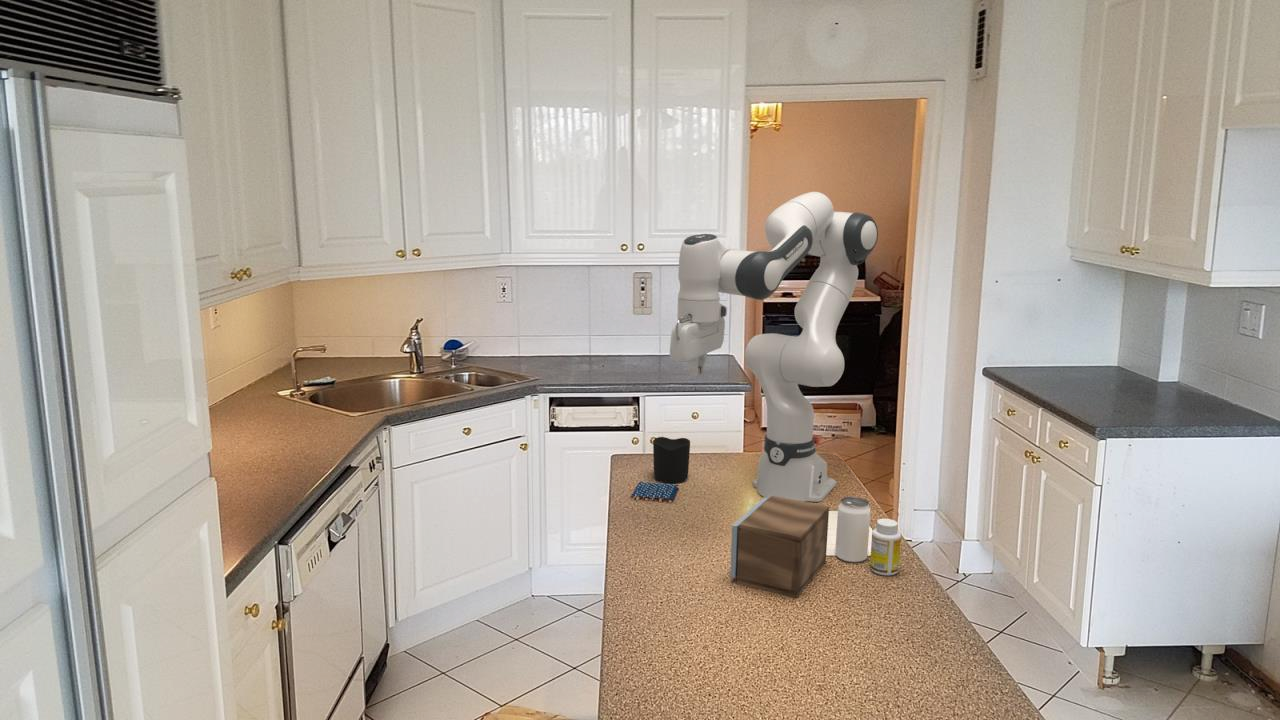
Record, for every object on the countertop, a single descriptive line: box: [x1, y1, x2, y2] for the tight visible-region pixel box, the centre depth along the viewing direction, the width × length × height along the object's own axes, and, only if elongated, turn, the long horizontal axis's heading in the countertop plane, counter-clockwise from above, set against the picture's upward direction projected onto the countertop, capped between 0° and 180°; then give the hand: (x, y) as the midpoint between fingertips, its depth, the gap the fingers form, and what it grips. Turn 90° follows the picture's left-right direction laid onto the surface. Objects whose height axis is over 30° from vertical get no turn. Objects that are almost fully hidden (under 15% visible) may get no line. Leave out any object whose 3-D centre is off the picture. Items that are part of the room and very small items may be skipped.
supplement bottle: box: [869, 518, 902, 576], centre depth 179 cm, size 6×6×10 cm
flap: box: [729, 496, 769, 579], centre depth 180 cm, size 18×1×10 cm, turn 153°
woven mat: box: [630, 481, 680, 504], centre depth 221 cm, size 10×11×2 cm
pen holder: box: [652, 436, 691, 485], centre depth 232 cm, size 9×9×10 cm
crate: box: [736, 496, 830, 599], centre depth 177 cm, size 18×12×12 cm, turn 152°
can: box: [834, 496, 871, 564], centre depth 186 cm, size 6×6×12 cm
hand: (696, 375), depth 196 cm, fingers closed
